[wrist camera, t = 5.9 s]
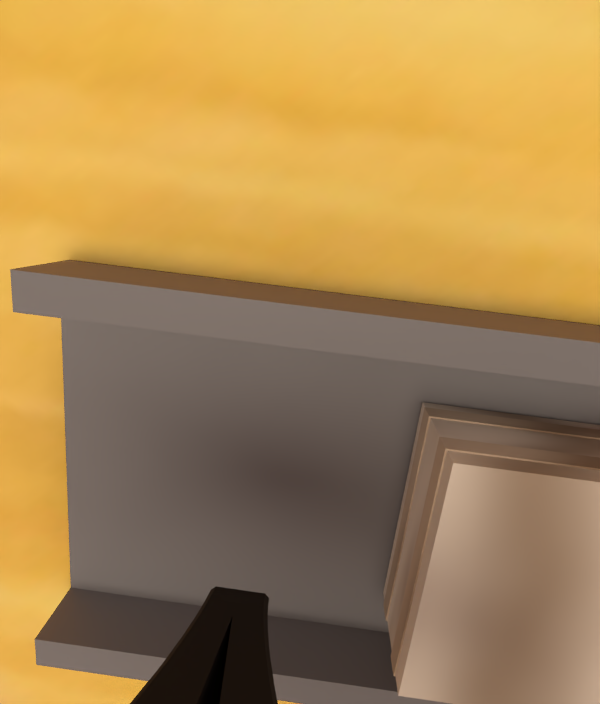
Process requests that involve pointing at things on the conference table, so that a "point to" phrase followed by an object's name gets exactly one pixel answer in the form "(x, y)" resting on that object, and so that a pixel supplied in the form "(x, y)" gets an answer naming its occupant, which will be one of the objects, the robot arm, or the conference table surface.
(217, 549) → the bay
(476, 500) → the tan layered slab
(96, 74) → the conference table surface
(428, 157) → the conference table surface
